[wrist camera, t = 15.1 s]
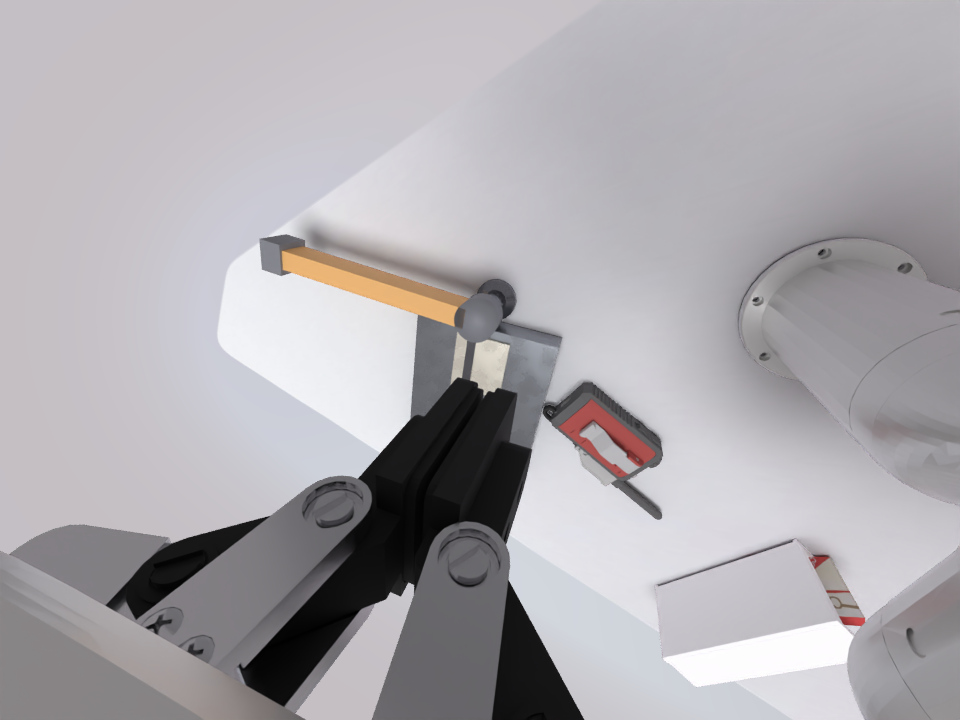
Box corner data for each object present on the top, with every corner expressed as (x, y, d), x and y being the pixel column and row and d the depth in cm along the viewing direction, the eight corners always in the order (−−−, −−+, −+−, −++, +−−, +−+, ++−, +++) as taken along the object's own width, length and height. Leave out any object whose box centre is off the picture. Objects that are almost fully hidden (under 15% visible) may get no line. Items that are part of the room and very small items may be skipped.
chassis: (562, 337, 41) (558, 350, 38) (525, 470, 51) (519, 488, 48) (429, 303, 44) (416, 312, 41) (418, 433, 54) (406, 448, 51)
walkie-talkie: (532, 414, 47) (652, 513, 48) (525, 434, 43) (656, 542, 44) (581, 370, 42) (713, 480, 43) (578, 388, 39) (722, 508, 39)
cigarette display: (681, 609, 53) (694, 687, 45) (654, 584, 52) (662, 658, 44) (839, 565, 42) (892, 655, 34) (807, 533, 42) (853, 617, 34)
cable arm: (507, 299, 36) (498, 310, 33) (498, 335, 38) (488, 349, 35) (285, 230, 41) (259, 234, 38) (287, 266, 43) (262, 273, 40)
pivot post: (519, 284, 40) (509, 295, 36) (512, 322, 42) (502, 336, 38) (481, 275, 41) (467, 285, 37) (475, 312, 43) (462, 325, 39)
